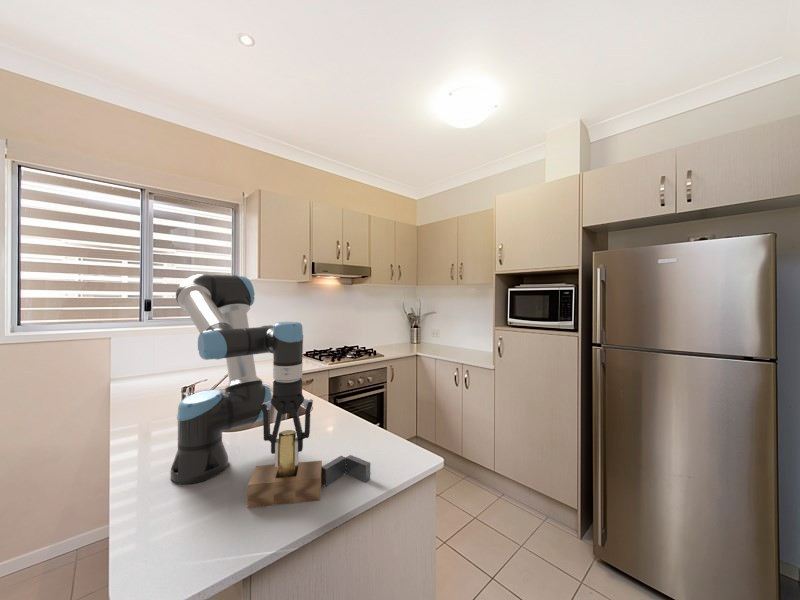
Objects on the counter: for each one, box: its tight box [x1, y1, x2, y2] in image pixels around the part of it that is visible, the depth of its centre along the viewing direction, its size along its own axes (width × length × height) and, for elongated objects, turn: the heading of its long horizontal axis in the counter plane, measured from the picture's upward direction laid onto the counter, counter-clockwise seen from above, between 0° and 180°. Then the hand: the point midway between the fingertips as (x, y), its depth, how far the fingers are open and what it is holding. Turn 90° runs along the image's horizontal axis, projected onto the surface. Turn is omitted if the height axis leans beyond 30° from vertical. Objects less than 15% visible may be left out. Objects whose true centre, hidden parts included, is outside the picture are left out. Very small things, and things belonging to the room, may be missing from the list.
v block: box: [321, 454, 371, 487], centre depth 96 cm, size 14×7×5 cm, turn 101°
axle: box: [278, 429, 297, 478], centre depth 88 cm, size 4×4×16 cm
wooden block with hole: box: [246, 460, 323, 509], centre depth 88 cm, size 18×9×6 cm, turn 101°
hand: (287, 463), depth 88 cm, fingers closed on axle, 4 cm apart
